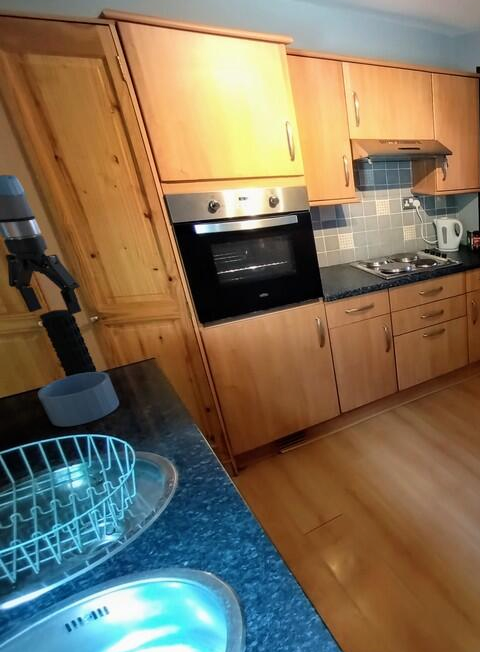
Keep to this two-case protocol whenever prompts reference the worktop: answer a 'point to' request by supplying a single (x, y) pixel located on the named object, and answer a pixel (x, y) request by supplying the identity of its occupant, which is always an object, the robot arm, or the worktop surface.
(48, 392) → the blue round bowl
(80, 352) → the handle grip
